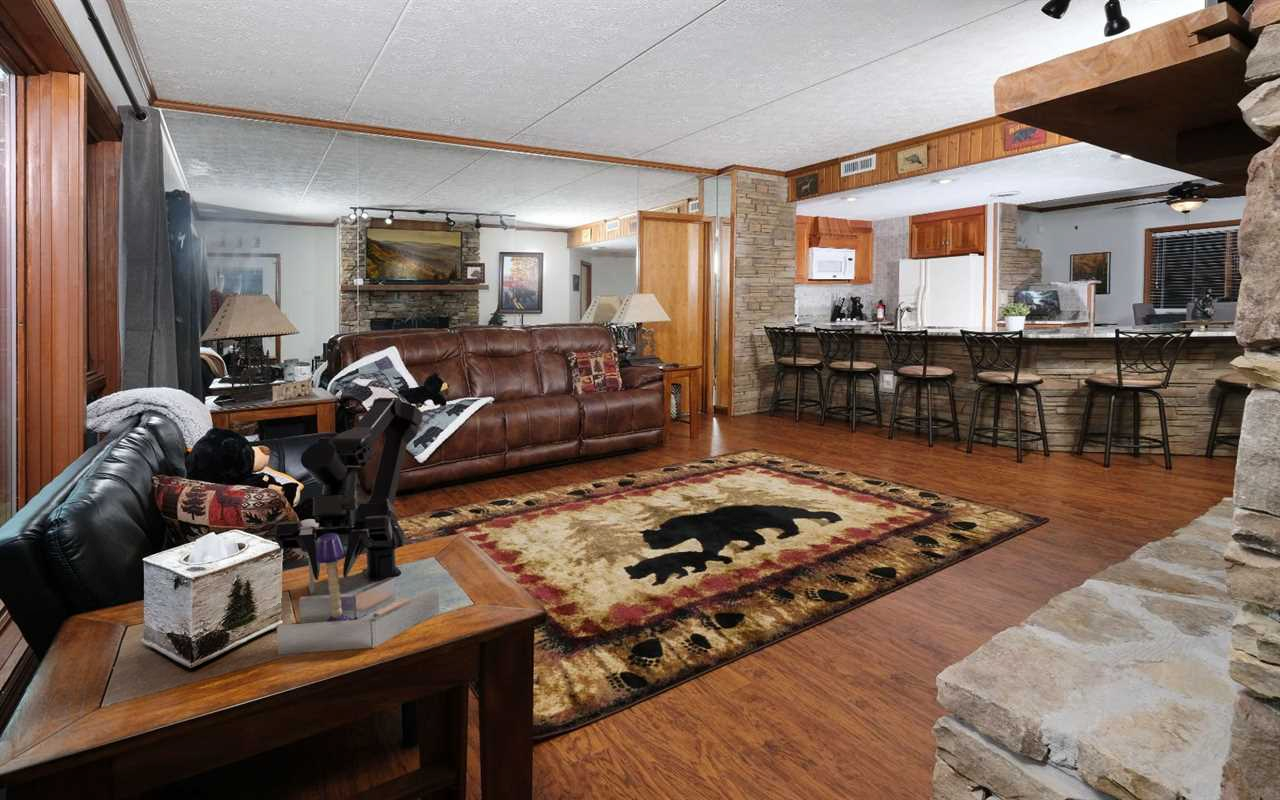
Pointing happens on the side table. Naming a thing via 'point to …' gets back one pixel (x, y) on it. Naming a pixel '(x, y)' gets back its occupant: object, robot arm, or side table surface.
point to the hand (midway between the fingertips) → (330, 577)
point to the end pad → (390, 607)
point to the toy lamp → (332, 571)
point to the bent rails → (354, 631)
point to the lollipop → (307, 523)
